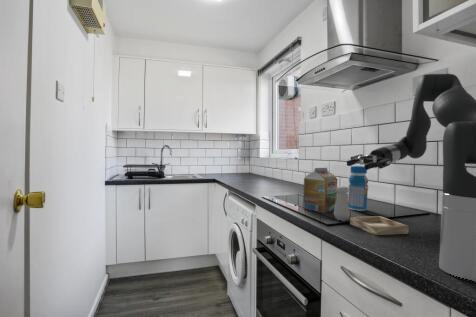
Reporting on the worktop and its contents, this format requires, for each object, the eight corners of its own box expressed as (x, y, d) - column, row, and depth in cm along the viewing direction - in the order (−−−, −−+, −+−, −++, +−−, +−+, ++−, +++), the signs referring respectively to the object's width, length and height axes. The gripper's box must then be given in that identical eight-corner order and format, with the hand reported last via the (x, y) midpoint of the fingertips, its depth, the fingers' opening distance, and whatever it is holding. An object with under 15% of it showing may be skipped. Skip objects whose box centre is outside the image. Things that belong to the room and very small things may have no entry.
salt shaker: (350, 222, 96) (352, 187, 95) (334, 221, 97) (336, 186, 96) (347, 218, 101) (348, 185, 101) (332, 217, 102) (333, 185, 102)
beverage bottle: (352, 211, 114) (354, 166, 114) (344, 207, 123) (345, 165, 122) (371, 211, 115) (372, 167, 114) (361, 207, 123) (363, 166, 122)
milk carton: (315, 205, 124) (317, 166, 124) (336, 209, 116) (337, 168, 116) (303, 208, 117) (304, 167, 117) (324, 213, 109) (325, 168, 109)
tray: (408, 233, 84) (408, 225, 84) (375, 235, 81) (375, 227, 81) (379, 222, 96) (379, 216, 96) (349, 223, 93) (350, 217, 93)
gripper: (369, 145, 111) (341, 153, 105) (401, 148, 98) (371, 158, 92) (370, 161, 113) (342, 171, 107) (402, 167, 100) (372, 178, 94)
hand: (356, 165), depth 100 cm, fingers open, 8 cm apart
